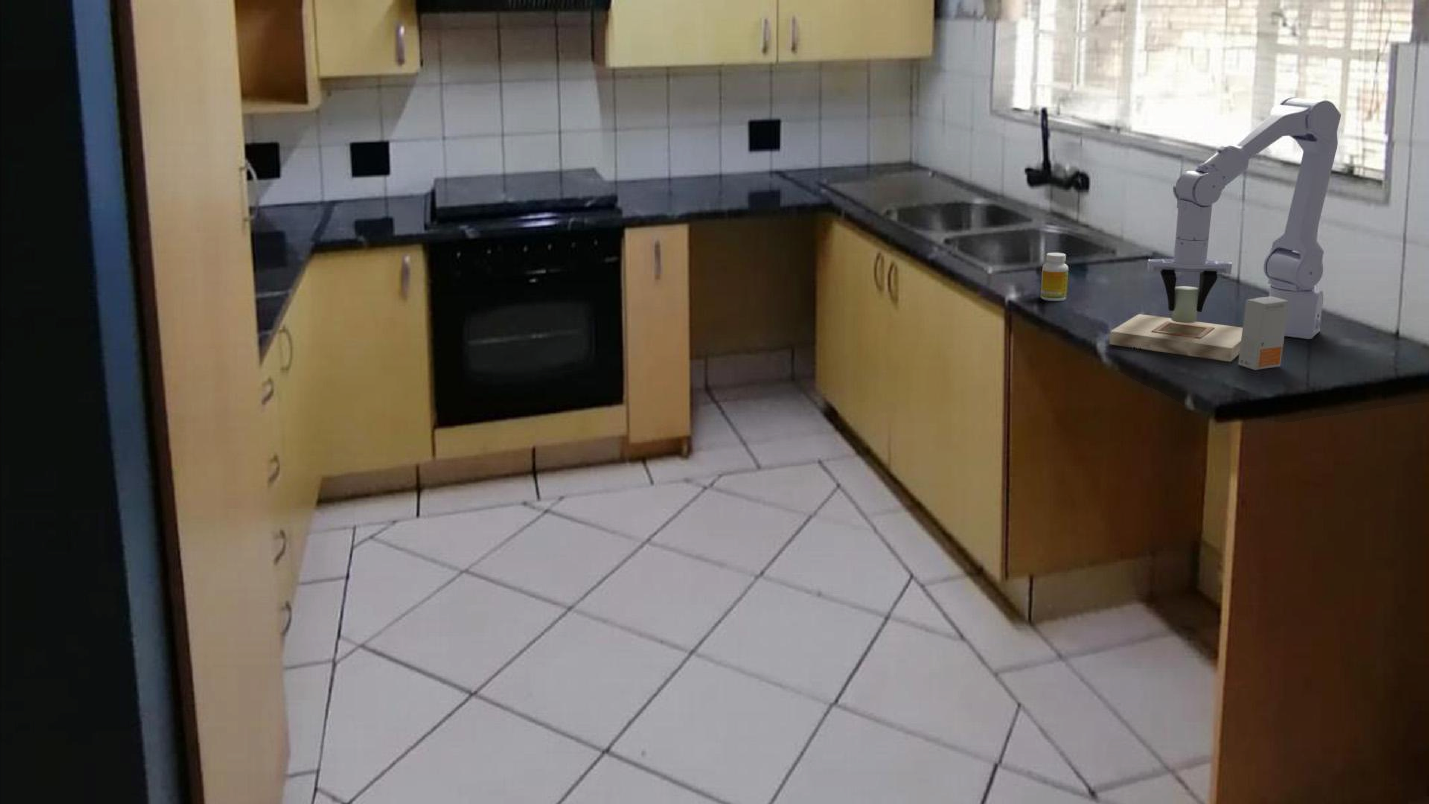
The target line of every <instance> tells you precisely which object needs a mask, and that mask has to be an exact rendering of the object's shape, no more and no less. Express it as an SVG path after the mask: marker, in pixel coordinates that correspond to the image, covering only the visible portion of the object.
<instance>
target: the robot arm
mask: <svg viewBox="0 0 1429 804" xmlns="http://www.w3.org/2000/svg"><path fill="white" fill-rule="evenodd" d="M1341 117H1342V114H1341V113H1340V111H1339V110H1338V108H1337V107H1336V105H1335V104H1334V103H1333V102H1331V101H1329V100H1323V99H1322V100H1318V99H1305V98H1298V97H1295V96H1289V97H1286V98H1284V99H1283V100H1282V101H1281V102H1279V104H1277V105H1275V106H1273V107H1272V109H1271V111H1270V115H1268V116H1267V117H1266V118H1265V119H1264V120H1263V121H1262V122H1261V123H1259V124H1258V125H1257V126H1256V127H1255V128H1254V129H1253V130H1251V132H1249V134H1247V135H1246V136H1245V137H1244V138H1243V139H1242V140H1241V141H1240V142H1239V143H1237V144H1236V145H1233V144H1227V145H1225V146H1224V145H1221V146H1219V147H1218V148H1217V149H1216V153H1215V154H1213V155H1212V156H1211V157H1209V158H1208V159H1207V160H1205V161H1204V163H1203V162H1201V163H1200V164H1198V165H1197V168H1196V169H1194V170H1188V171H1185V172H1184V173H1183V174H1181V175H1180V176H1179V177H1178V179H1177V180H1176V183H1175V185H1173V186H1172V192H1173V195H1174V197H1175V199H1176V209H1177V210H1178V211H1177V219H1176V220H1177V223H1176V232H1175V241H1174V242H1175V243H1174V249H1173V250H1174V253H1173V258H1164V259H1163V258H1160V259H1158V258H1157V259H1156V258H1155V259H1151V258H1150V259H1147V272H1149V273H1150V272H1151V273H1153V272H1159V273H1160V276H1161V278H1162V281H1163V284H1164V288H1165V292H1166V297H1167V309H1168V311H1170V312H1172V311H1173V309H1174V292H1175V287H1176V284H1177V279H1178V278H1177V276H1176V272H1177V273H1179V272H1180V273H1181V272H1182V273H1199V281H1198V284H1199V285H1198V289H1199V299H1198V308H1197V313H1202V312H1203V307H1204V304H1205V302H1206V299H1207V298H1208V295H1209V294H1210V291H1211V290H1212V288H1213V286H1214V285H1215V283H1216V282H1217V280H1218V274H1225V275H1232V269H1233V263H1232V262H1231V261H1221V260H1212V259H1211V260H1209V259H1207V258H1208V250H1209V249H1208V248H1209V239H1210V229H1211V228H1210V227H1211V221H1212V210H1213V204H1215V203H1217V201H1219V199H1220V197H1221V195H1222V192H1223V190H1225V188H1226V186H1228V185H1229V184H1230V183H1231V182H1233V181H1234V180H1235V179H1237V178H1238V177H1240V175H1241V174H1243V173H1244V172H1245V171H1246V170H1247V169H1248V168H1249V161H1250V159H1252V158H1253V157H1255V156H1256V155H1258V154H1260V153H1261V152H1263V151H1264V150H1265V149H1267V148H1268V147H1269V146H1271V145H1273V144H1274V143H1275V142H1277V141H1279V140H1280V139H1281V138H1282V137H1287V136H1289V137H1290V138H1292V139H1294V140H1295V141H1296V143H1297V144H1298V146H1299V147H1300V148H1301V150H1302V155H1301V156H1302V157H1301V160H1300V163H1299V164H1300V165H1299V170H1298V172H1297V173H1298V174H1297V177H1296V182H1295V186H1294V190H1293V195H1292V198H1291V199H1292V200H1291V204H1290V208H1289V212H1288V216H1287V221H1286V225H1285V229H1284V233H1283V234H1282V235H1281V236H1279V237H1277V238H1276V239H1275V240H1274V241H1273V242H1272V244H1271V248H1270V251H1269V253H1267V255H1266V257H1265V258H1264V262H1263V267H1262V268H1263V274H1264V275H1265V276H1266V278H1268V284H1269V285H1270V286H1269V294H1268V297H1270V296H1273V297H1276V298H1280V299H1284V300H1287V301H1289V306H1288V313H1287V321H1286V328H1285V335H1284V337H1290V338H1298V339H1305V340H1312V339H1313V338H1314V337H1315V336H1316V335H1317V334H1319V332H1320V331H1321V327H1320V326H1321V321H1322V320H1321V319H1322V312H1323V311H1322V310H1323V306H1324V305H1323V303H1324V291H1323V290H1319V289H1315V287H1316V286H1317V284H1319V282H1320V281H1321V279H1322V277H1323V274H1324V265H1323V264H1324V263H1323V257H1324V249H1323V248H1322V246H1321V245H1320V244H1319V242H1318V241H1317V239H1316V236H1317V232H1318V229H1319V225H1320V220H1321V215H1322V212H1323V208H1324V205H1325V204H1324V203H1325V199H1326V197H1327V196H1326V195H1327V192H1328V188H1329V182H1330V178H1331V176H1332V170H1333V167H1334V166H1333V165H1334V163H1335V158H1336V155H1337V151H1338V150H1337V149H1338V143H1339V142H1338V139H1339V138H1338V129H1339V126H1340V122H1341Z"/></svg>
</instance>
